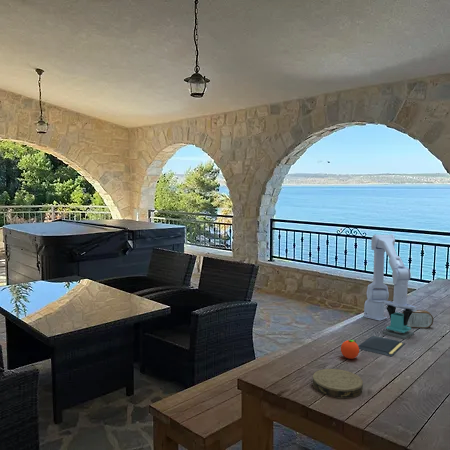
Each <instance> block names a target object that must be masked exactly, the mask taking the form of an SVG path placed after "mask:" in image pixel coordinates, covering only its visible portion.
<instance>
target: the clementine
mask: <svg viewBox="0 0 450 450" xmlns="http://www.w3.org/2000/svg"><path fill="white" fill-rule="evenodd" d="M358 346H359V344H358V343H357V342H356V340H354V339H349V340H348V339H347V340H345V341H344V342H342V343H341V345H340V352H341V354H342V356H343V357H345V358H346V359H349V360H350V359H351V360H352V359H353V360H354V359H355V358H357V357H358V356H359V353H360V349H359V347H358Z"/></svg>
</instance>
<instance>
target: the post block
mask: <svg viewBox="0 0 450 450" xmlns="http://www.w3.org/2000/svg"><path fill="white" fill-rule="evenodd" d="M382 334H383V335H386V336H390V337H395V338H398V339H401V340H406V339H408V338H410V337H412V336H414V335H415V332H414V331H411V330H409V331H407V332H405V333H401V332H397V331H393V330H389V329H386V330H383V331H382Z"/></svg>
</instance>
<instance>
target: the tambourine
mask: <svg viewBox="0 0 450 450" xmlns="http://www.w3.org/2000/svg"><path fill="white" fill-rule="evenodd" d="M363 385H364V381H363V380H362V377H360V376H359V375H358V374H356V373H353V372H351V371H347V370H344V369H338V368H323V369H320V370H316V371H315V372H314V373H313V375H312V386H313V388H314V389H315V390H316V391H317V392H319V393H321V394H323V395H326V396H329V397H332V398H338V399H350V398H356V397H358V396H360V395H361V394H362V393H363V390H364V389H363Z"/></svg>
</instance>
